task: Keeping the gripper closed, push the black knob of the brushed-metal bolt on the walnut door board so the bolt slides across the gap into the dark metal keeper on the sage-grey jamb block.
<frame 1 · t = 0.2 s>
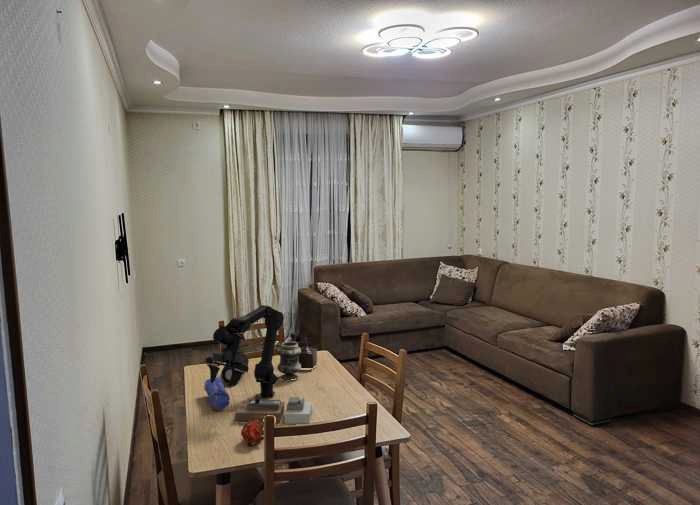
hand: (220, 385, 208), 15 cm above the table, tool tilted 30°, fingers open, 9 cm apart
lock bolt: (265, 400, 212), point 7 cm above the table, slide at 0.0 cm
pencil case: (216, 403, 228), on the table
portable speaker: (235, 377, 262), on the table
dragon fruit: (253, 443, 190), on the table
apothecary jar: (289, 378, 260), on the table
door board: (260, 416, 213), on the table
jamb block: (298, 417, 212), on the table
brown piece: (301, 367, 278), on the table
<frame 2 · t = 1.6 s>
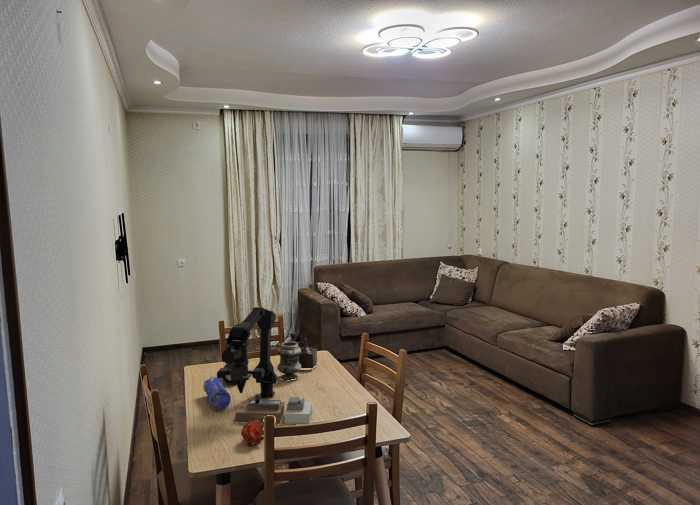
hand: (241, 393, 212), 10 cm above the table, tool pointing down, fingers closed
nothing on the table moved.
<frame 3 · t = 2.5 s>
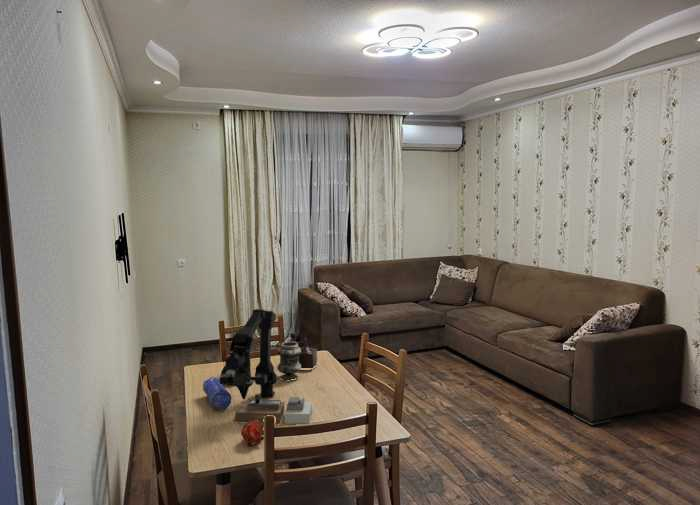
hand: (244, 399, 212), 7 cm above the table, tool pointing down, fingers closed
nothing on the table moved.
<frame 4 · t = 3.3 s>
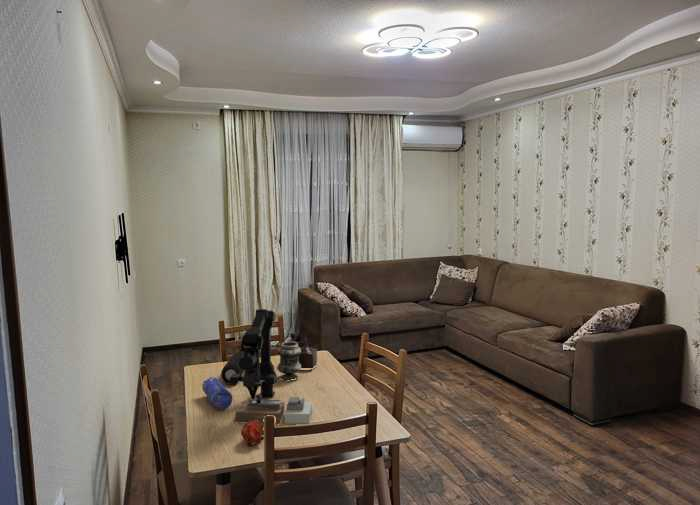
hand: (253, 399, 212), 7 cm above the table, tool pointing down, fingers closed
lock bolt: (266, 401, 212), point 7 cm above the table, slide at 0.5 cm, touching gripper
everything else where it was.
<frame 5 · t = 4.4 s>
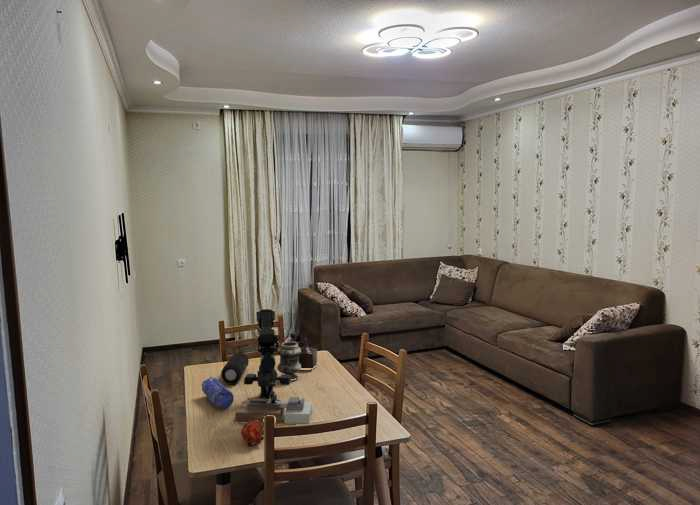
hand: (268, 399, 212), 8 cm above the table, tool pointing down, fingers closed
lock bolt: (281, 401, 212), point 7 cm above the table, slide at 6.7 cm, touching gripper
everything else where it was.
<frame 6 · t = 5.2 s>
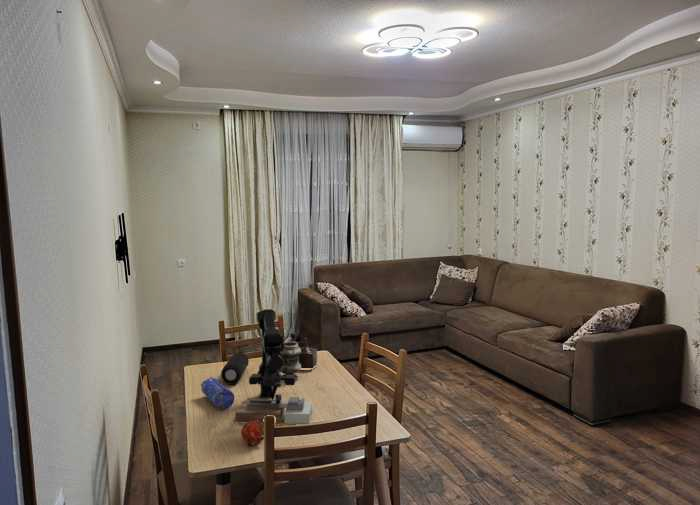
hand: (272, 399, 212), 8 cm above the table, tool pointing down, fingers closed
lock bolt: (285, 401, 212), point 7 cm above the table, slide at 8.6 cm, touching gripper
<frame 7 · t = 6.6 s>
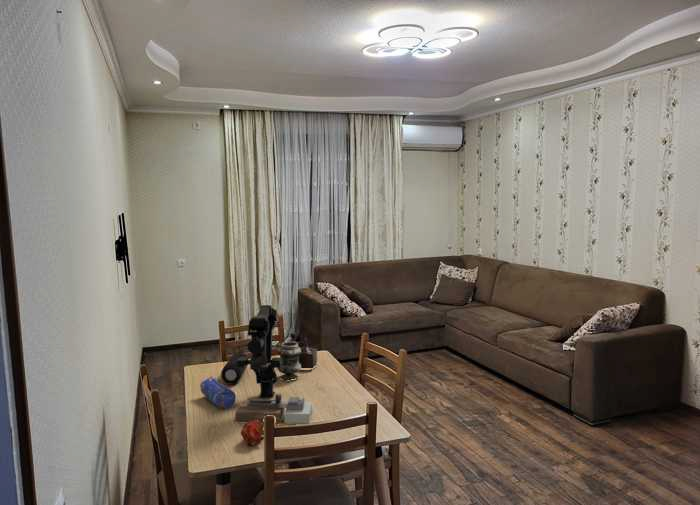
hand: (259, 381, 219), 12 cm above the table, tool pointing down, fingers closed
lock bolt: (285, 401, 212), point 7 cm above the table, slide at 8.5 cm
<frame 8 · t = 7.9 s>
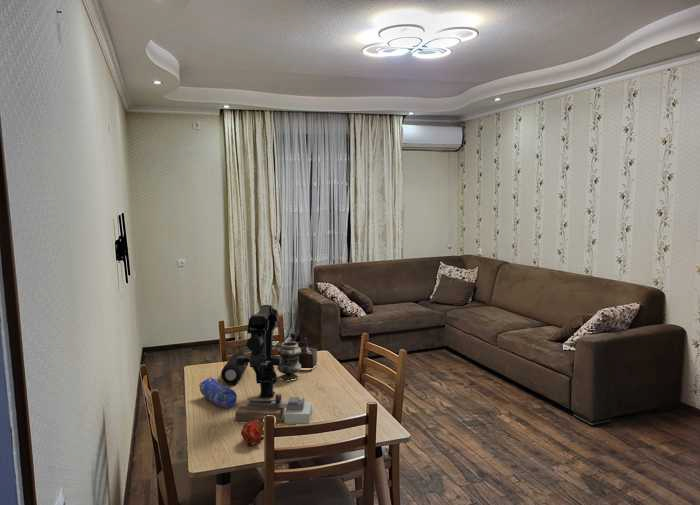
hand: (259, 379, 219), 13 cm above the table, tool pointing down, fingers closed
at the end: lock bolt slide at 8.5 cm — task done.
